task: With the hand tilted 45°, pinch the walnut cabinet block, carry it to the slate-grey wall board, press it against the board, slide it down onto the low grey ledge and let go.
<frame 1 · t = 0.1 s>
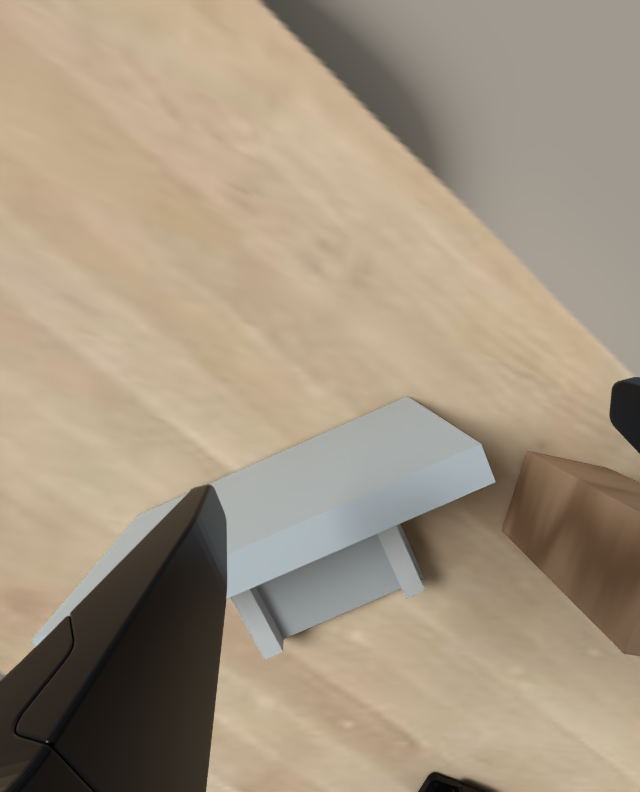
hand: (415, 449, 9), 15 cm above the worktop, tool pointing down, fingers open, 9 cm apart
walnut cabinet block: (554, 499, 26), on the worktop
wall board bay: (312, 540, 26), on the worktop
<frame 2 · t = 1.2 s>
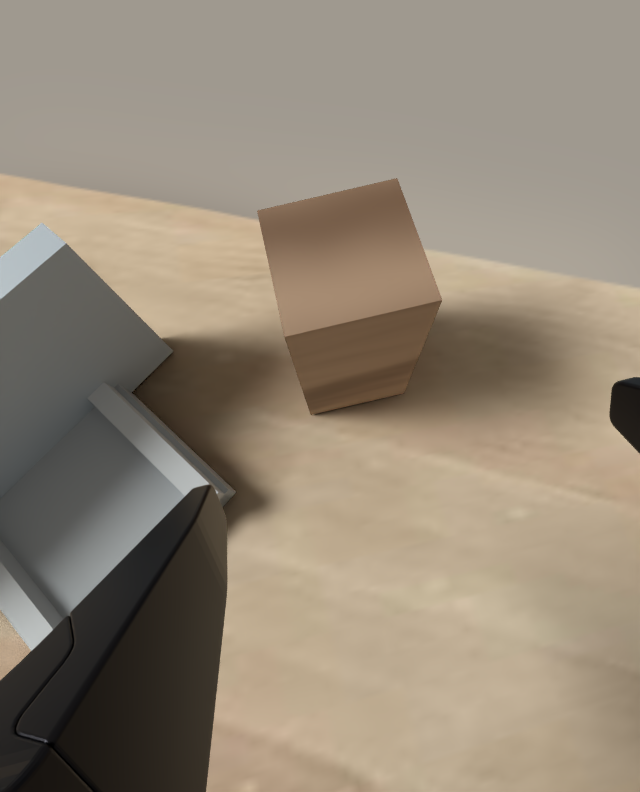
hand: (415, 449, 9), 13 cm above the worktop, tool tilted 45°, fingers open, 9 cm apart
walnut cabinet block: (346, 361, 24), on the worktop
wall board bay: (109, 515, 22), on the worktop
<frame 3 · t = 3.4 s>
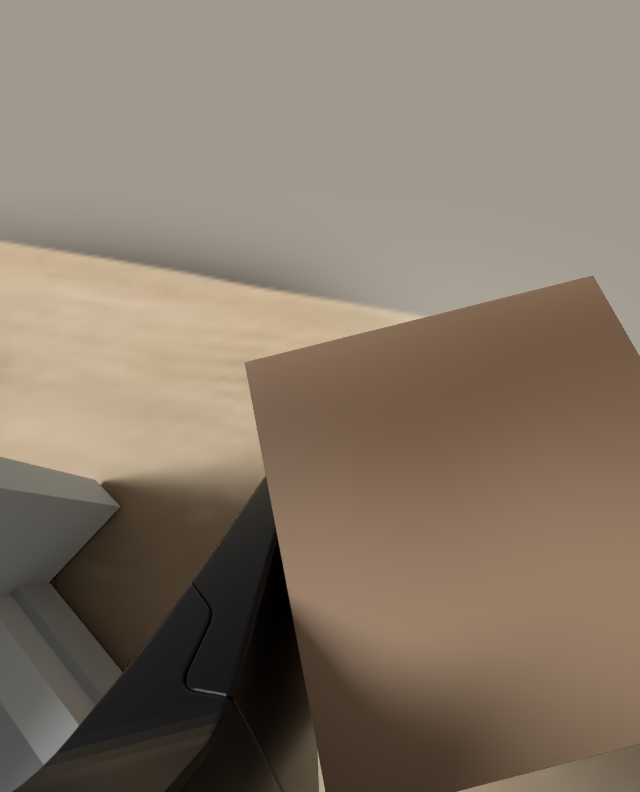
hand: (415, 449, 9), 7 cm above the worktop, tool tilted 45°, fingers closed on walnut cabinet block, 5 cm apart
walnut cabinet block: (400, 526, 15), on the worktop, touching gripper
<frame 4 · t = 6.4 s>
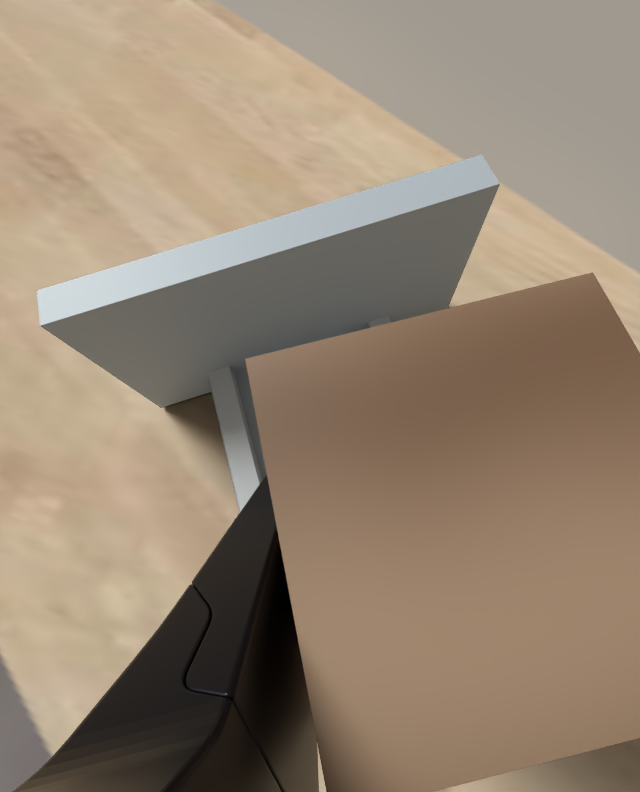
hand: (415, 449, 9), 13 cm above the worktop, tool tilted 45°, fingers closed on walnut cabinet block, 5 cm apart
walnut cabinet block: (400, 525, 15), point 7 cm above the worktop, touching gripper
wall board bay: (326, 430, 23), on the worktop
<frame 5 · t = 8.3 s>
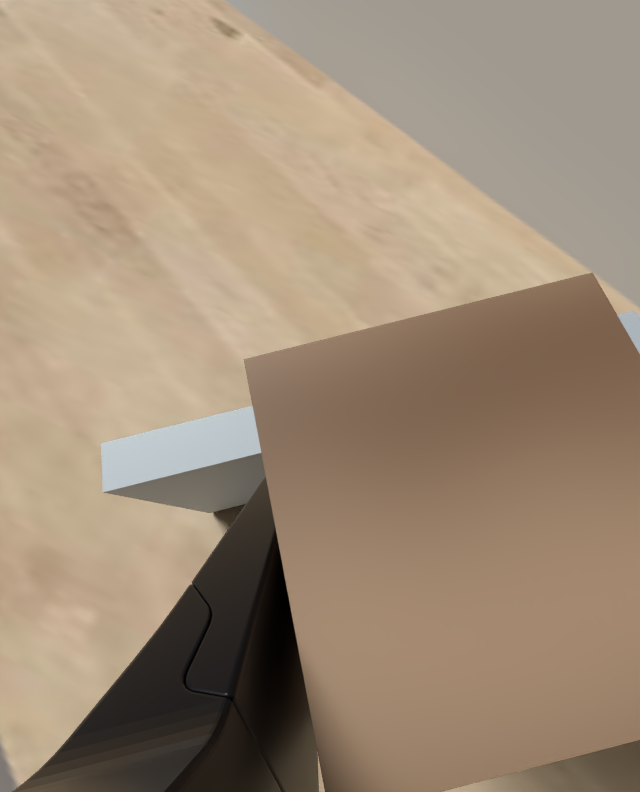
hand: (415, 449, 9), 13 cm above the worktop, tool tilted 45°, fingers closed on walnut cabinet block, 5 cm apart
walnut cabinet block: (400, 525, 15), point 7 cm above the worktop, touching gripper
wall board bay: (394, 559, 20), on the worktop
when the fingers open (9 cm above the worktop, at t = 9.7 s): walnut cabinet block stays where it is, resting on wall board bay.
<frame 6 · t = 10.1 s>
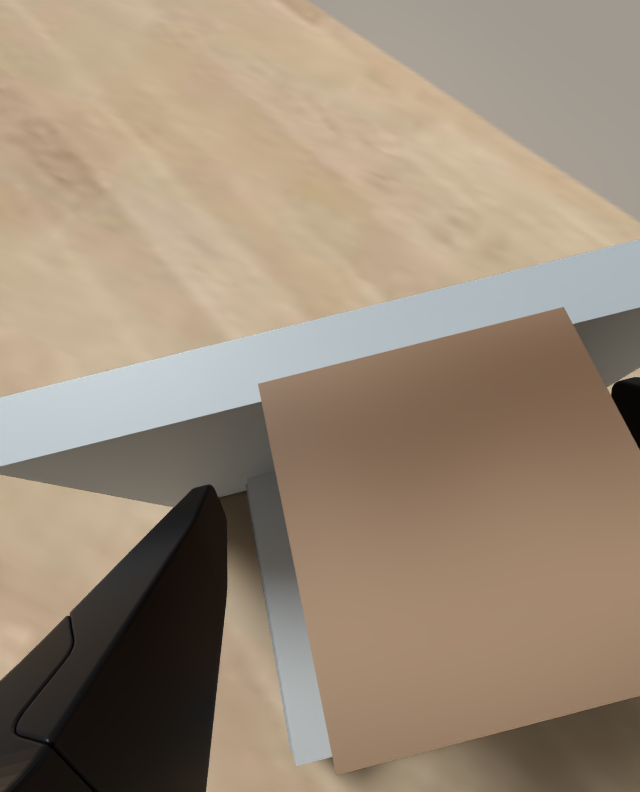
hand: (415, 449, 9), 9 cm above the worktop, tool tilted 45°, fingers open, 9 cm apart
walnut cabinet block: (398, 526, 15), point 1 cm above the worktop, touching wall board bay
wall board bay: (405, 565, 16), on the worktop
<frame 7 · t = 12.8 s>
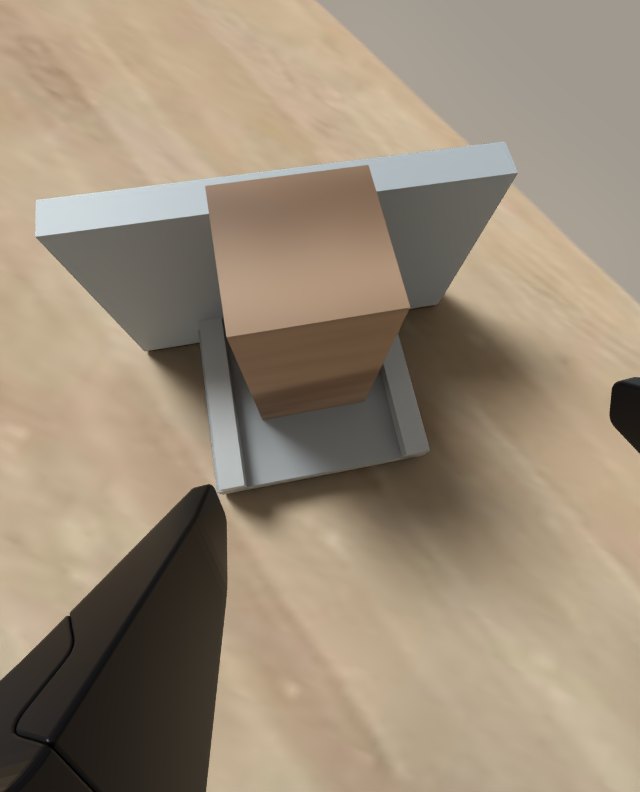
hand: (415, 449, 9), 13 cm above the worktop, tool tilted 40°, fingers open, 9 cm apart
walnut cabinet block: (304, 363, 22), point 1 cm above the worktop, touching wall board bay
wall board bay: (309, 396, 23), on the worktop
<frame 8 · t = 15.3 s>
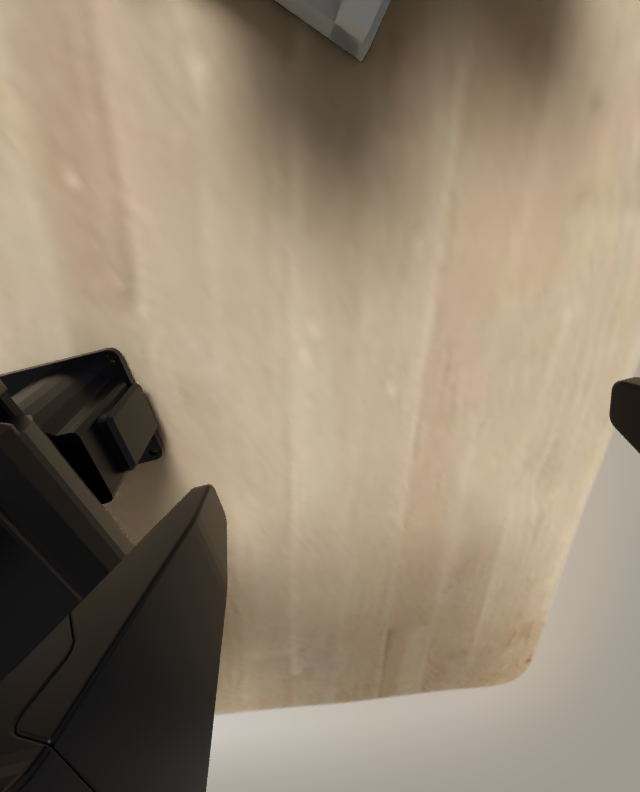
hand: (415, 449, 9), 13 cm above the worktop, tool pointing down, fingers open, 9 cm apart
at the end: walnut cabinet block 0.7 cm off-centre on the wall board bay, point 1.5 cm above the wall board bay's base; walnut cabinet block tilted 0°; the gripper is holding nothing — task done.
